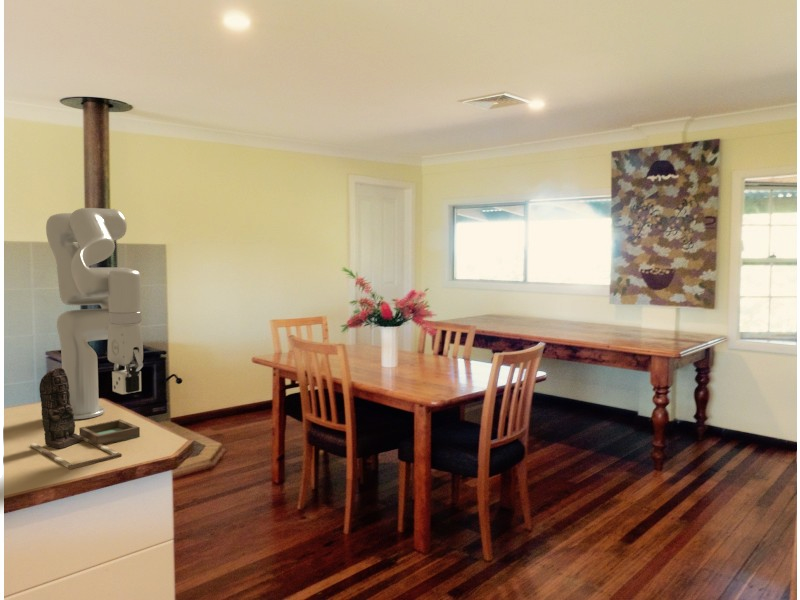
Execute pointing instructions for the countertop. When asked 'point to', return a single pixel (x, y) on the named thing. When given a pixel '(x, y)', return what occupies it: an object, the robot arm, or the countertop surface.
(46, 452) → the brown rectangular frame
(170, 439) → the countertop surface
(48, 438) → the statue
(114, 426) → the dice tray
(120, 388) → the die
